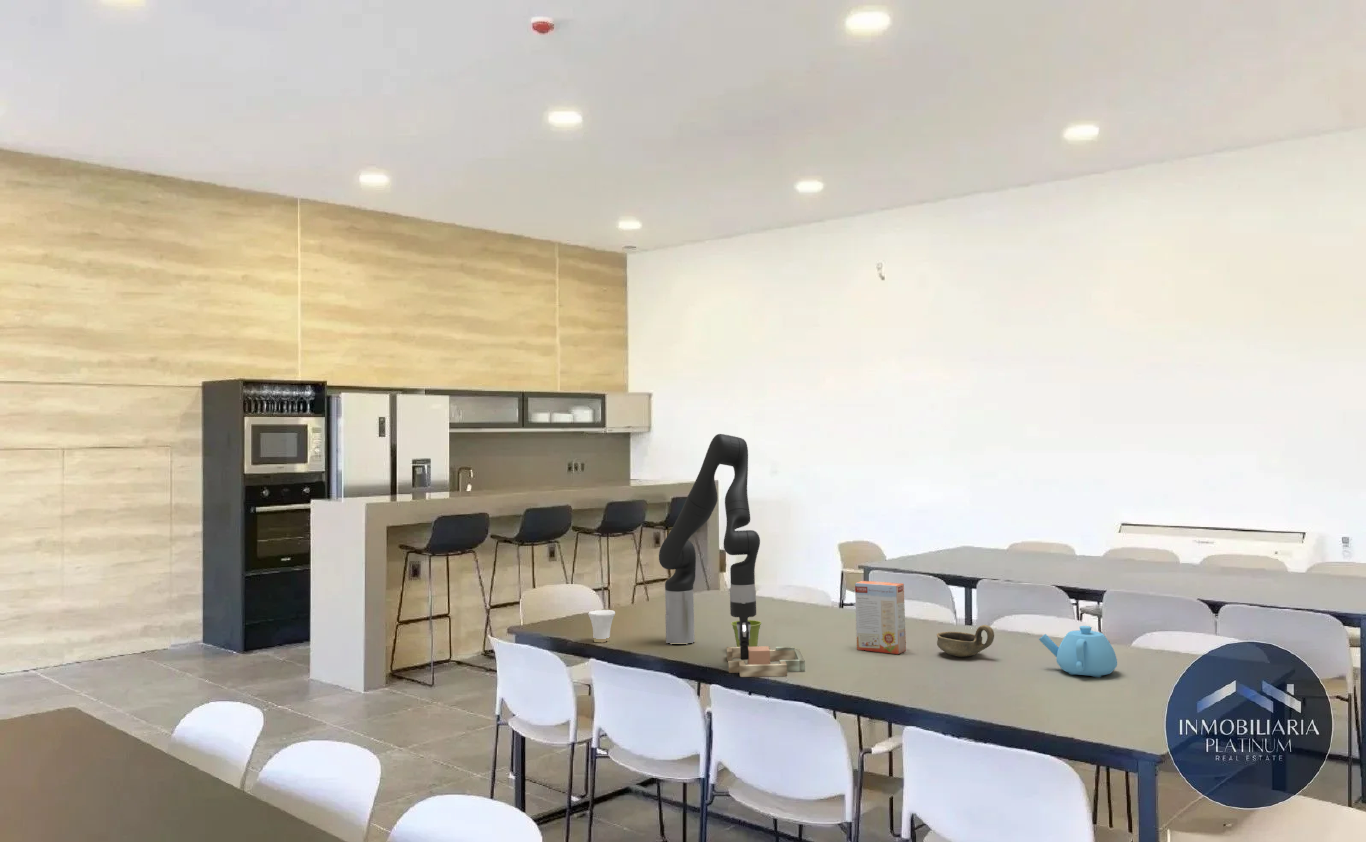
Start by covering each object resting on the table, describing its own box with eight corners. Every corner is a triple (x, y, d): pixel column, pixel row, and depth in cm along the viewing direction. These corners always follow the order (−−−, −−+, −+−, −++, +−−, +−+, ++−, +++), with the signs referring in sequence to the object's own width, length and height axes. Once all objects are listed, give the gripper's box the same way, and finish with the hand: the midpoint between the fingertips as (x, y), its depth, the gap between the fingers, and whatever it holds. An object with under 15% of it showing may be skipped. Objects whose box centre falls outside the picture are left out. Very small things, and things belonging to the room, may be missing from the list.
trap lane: (729, 677, 271) (729, 663, 271) (726, 657, 296) (726, 644, 296) (806, 675, 271) (806, 661, 271) (797, 655, 296) (797, 643, 296)
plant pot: (741, 655, 298) (741, 626, 298) (726, 649, 307) (725, 622, 307) (767, 651, 303) (767, 623, 303) (751, 646, 311) (751, 618, 311)
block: (749, 668, 281) (749, 651, 281) (747, 663, 287) (747, 646, 287) (770, 668, 281) (769, 650, 281) (767, 663, 287) (767, 646, 287)
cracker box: (906, 651, 298) (904, 582, 299) (898, 655, 293) (896, 585, 294) (865, 646, 307) (863, 579, 307) (856, 650, 302) (854, 582, 302)
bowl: (949, 648, 301) (948, 616, 301) (1003, 656, 289) (1003, 622, 289) (927, 656, 291) (926, 623, 291) (982, 665, 279) (981, 630, 279)
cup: (583, 643, 321) (583, 613, 321) (596, 638, 329) (595, 608, 330) (607, 645, 317) (607, 614, 318) (620, 639, 326) (619, 609, 326)
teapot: (1111, 684, 254) (1109, 635, 255) (1031, 675, 265) (1030, 629, 265) (1122, 668, 271) (1121, 622, 271) (1047, 660, 282) (1046, 616, 282)
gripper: (729, 596, 291) (731, 654, 290) (730, 603, 277) (732, 664, 277) (754, 595, 290) (756, 654, 290) (757, 603, 277) (758, 664, 277)
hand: (744, 659), depth 284 cm, fingers closed
